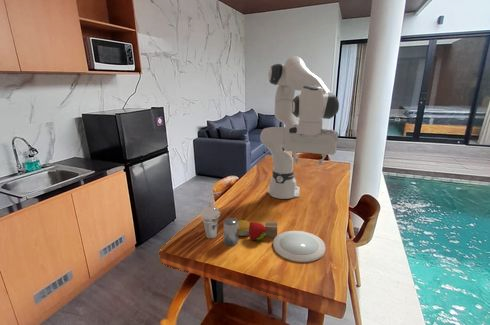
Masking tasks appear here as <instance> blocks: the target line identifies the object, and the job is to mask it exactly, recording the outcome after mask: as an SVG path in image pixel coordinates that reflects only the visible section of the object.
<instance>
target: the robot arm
mask: <svg viewBox="0 0 490 325" xmlns="http://www.w3.org/2000/svg"><path fill="white" fill-rule="evenodd" d="M267 75H268V80H269V83H270V85H274V86H277V85H278V86H277V87H276V92H275V95H274V97H275V98H274V118H275V119H276V120H277V121H279V122H281V123H283V124H284V125H285V126H270V127H265V128H263V129H262V130H261V131H260V132H261V133H260V136H259V138H260V139H259V140H260V142H261V144H262V145H263V146H264V147H266V148H267V149H268V151H269V153H271V157H272V166H273V169H272V173H271V175H272V177H271V178H270V180H269V189H267V191H266V193H267V194H269V196H271V197H273V198H276V199H280V200H281V199H282V200H284V199H285V200H289V199H292V198H299V197H300V191H301V190H300V188H301V187H300V186H298V185H297V179H296V178H295V169H294V163H297V164H298V163H300V157H298V156H297V153H305V154H306V153H308V154H309V153H310V154H317V155H318V154H319V155H321V157H322V158H321V159H318V163H317V164H318V166H323V165H324V160H325V158H326V157H327V155H332V156H333V155H335V154H336V152H337V141H338V139H339V134H338V132H337V131H336V130H335V129H326V128H325V129H323V119H325V120H326V119H327V120H330V119H332V118H333V117H335V115H337V114H338V111H339V108H340V103H339V99H338V97H337V96H336V95H335V94H334V92H333V93H332V92H331V91H330V89H329V88H328V87H327V85H326V84H325V83H324V81H323V80H322V79H321V77H320V76H318V75H316V74H315V73H313V72H312V71H311V70H310V68H309V67H308V66H307V64H306V63H305V61H304V60H303V59H302V58H301V57H300V56H297V55H294V56H289V58H287V59H286V61H285V63H284V64H283V63H282V64H281V63H276V64H273V65H271V66H270V69H269V70H268V74H267ZM295 91H300V94H299V95H298V94H297V95H296V96H295V93H296V92H295ZM297 118H299V120H297ZM287 152H291V154H292V155H291V154H290V153H287Z"/></svg>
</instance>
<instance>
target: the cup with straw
mask: <svg viewBox="0 0 490 325" xmlns="http://www.w3.org/2000/svg"><path fill="white" fill-rule="evenodd" d="M222 193H223V192H222V190H221V191H220V190H219V191H215V192H210V193H208V195H207V196H208V198H207V199H208V204H207V205H205V206H204V207H203V208H202V210H201V212H200V213H199V217H200V218H201V219H202V221H203V222H202V223H203V227H204V231H205V232H204V233H205V236H206V238H208V239H214V238H216V237H217V234H218V223H219V217H220V216H221V211H220V209H218V207H217V206H215V205H213V204H211V196H213V195H217V194H222Z"/></svg>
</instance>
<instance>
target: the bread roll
mask: <svg viewBox="0 0 490 325" xmlns="http://www.w3.org/2000/svg"><path fill="white" fill-rule="evenodd" d="M249 226H250V222H249V221H248V220H238V236H240V237H242V236H245V237H246V236H249Z"/></svg>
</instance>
